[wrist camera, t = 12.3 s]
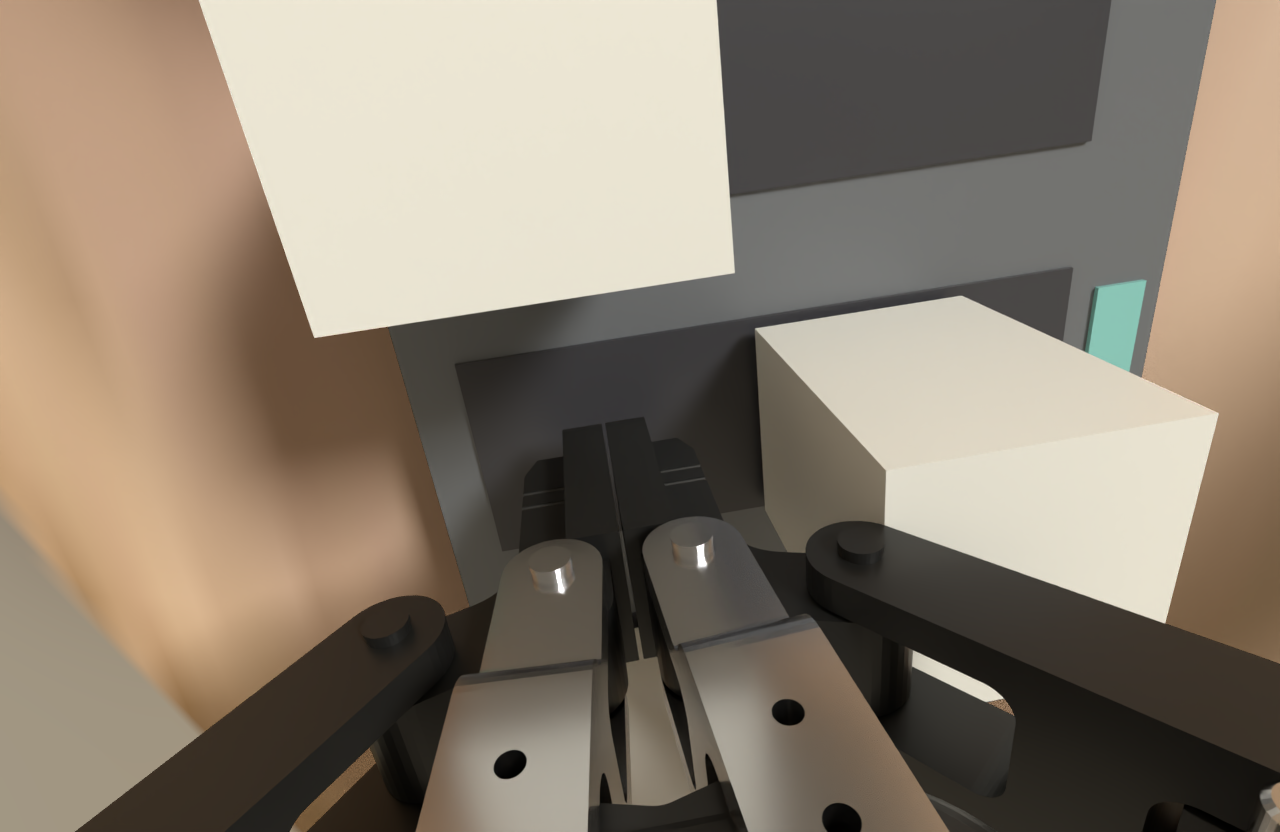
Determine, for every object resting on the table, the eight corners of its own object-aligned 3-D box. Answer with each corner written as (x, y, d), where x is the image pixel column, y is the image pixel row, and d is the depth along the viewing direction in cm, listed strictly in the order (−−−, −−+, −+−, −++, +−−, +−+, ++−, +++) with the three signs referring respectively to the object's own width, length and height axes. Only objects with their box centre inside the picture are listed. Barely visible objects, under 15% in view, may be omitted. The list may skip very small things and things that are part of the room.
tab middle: (961, 295, 13) (1219, 412, 8) (948, 478, 15) (1153, 669, 10) (754, 328, 13) (886, 470, 8) (764, 509, 14) (879, 723, 9)
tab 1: (624, -84, 10) (697, -277, 5) (655, 202, 12) (734, 273, 7) (343, -49, 10) (123, -216, 5) (417, 236, 11) (314, 337, 6)
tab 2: (699, 616, 15) (770, 860, 10) (713, 741, 17) (781, 1002, 12) (521, 648, 15) (507, 914, 10) (553, 772, 17) (555, 1051, 12)
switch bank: (1176, -195, 12) (1269, -240, 10) (1042, 641, 20) (1083, 686, 18) (296, -89, 11) (255, -121, 9) (526, 739, 19) (523, 795, 17)
